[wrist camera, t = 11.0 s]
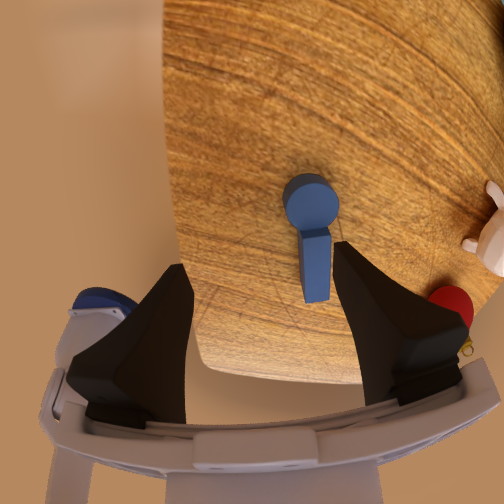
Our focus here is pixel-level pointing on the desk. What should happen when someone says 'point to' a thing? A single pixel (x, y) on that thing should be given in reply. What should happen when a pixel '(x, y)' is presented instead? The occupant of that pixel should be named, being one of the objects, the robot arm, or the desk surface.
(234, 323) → the desk surface
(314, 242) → the blue long-handled part
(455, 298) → the christmas ornament
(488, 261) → the white animal figurine
